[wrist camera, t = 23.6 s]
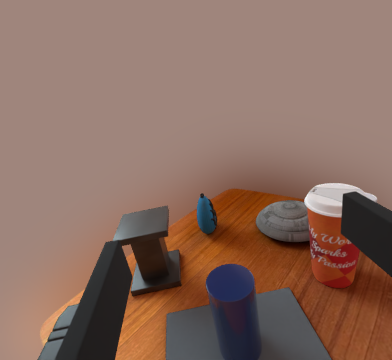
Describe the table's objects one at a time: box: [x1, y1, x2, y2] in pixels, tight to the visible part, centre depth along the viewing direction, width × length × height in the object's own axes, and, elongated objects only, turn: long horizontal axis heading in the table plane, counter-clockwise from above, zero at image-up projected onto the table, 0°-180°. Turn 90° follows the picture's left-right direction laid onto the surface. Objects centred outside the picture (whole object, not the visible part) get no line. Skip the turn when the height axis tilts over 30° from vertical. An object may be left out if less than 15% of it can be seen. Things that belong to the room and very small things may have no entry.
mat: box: [166, 287, 332, 360], centre depth 32 cm, size 20×14×1 cm
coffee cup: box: [304, 183, 367, 288], centre depth 37 cm, size 8×8×15 cm
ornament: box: [197, 194, 217, 234], centre depth 56 cm, size 8×5×10 cm, turn 1°
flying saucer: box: [256, 200, 310, 242], centre depth 52 cm, size 15×15×6 cm
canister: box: [206, 264, 262, 360], centre depth 29 cm, size 6×6×11 cm
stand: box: [113, 206, 181, 296], centre depth 45 cm, size 9×9×12 cm
